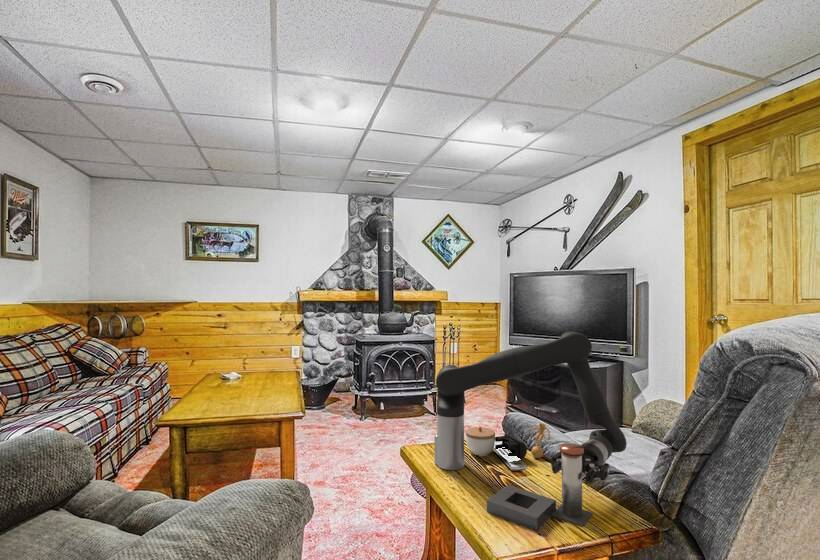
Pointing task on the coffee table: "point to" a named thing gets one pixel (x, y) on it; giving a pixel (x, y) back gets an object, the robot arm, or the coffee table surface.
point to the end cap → (512, 445)
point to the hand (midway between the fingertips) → (570, 474)
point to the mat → (577, 521)
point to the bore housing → (530, 517)
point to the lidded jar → (480, 440)
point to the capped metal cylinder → (572, 479)
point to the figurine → (537, 450)
